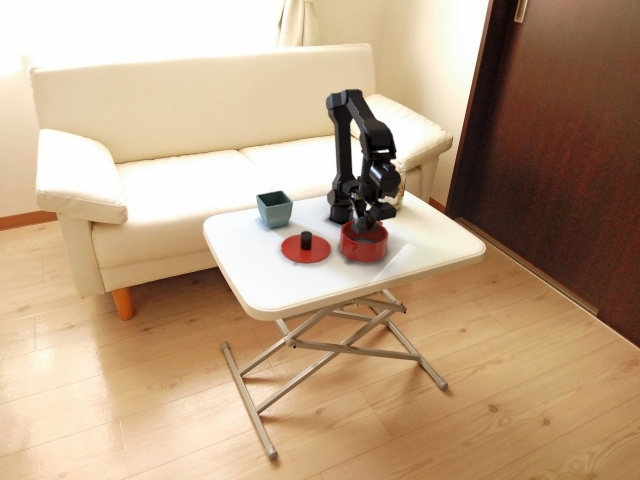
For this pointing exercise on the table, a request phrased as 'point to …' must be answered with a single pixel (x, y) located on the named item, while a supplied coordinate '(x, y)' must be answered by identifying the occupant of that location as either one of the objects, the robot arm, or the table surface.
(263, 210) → the flower pot
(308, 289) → the table surface
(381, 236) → the pot
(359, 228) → the grey lumpy block
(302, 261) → the lid
